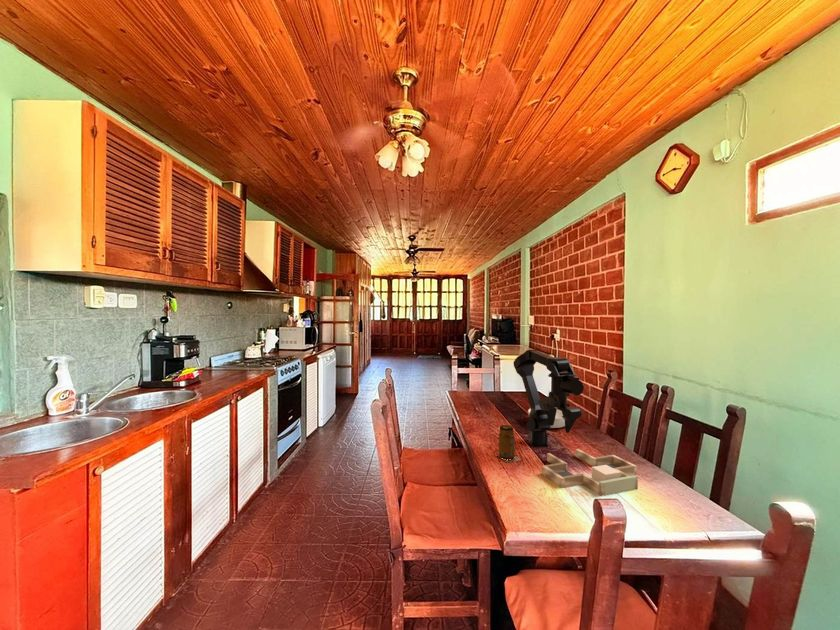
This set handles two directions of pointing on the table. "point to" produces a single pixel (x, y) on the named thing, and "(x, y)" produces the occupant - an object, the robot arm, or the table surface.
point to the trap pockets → (567, 479)
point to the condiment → (507, 444)
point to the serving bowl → (556, 419)
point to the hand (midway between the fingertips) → (559, 429)
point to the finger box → (604, 486)
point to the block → (604, 473)
